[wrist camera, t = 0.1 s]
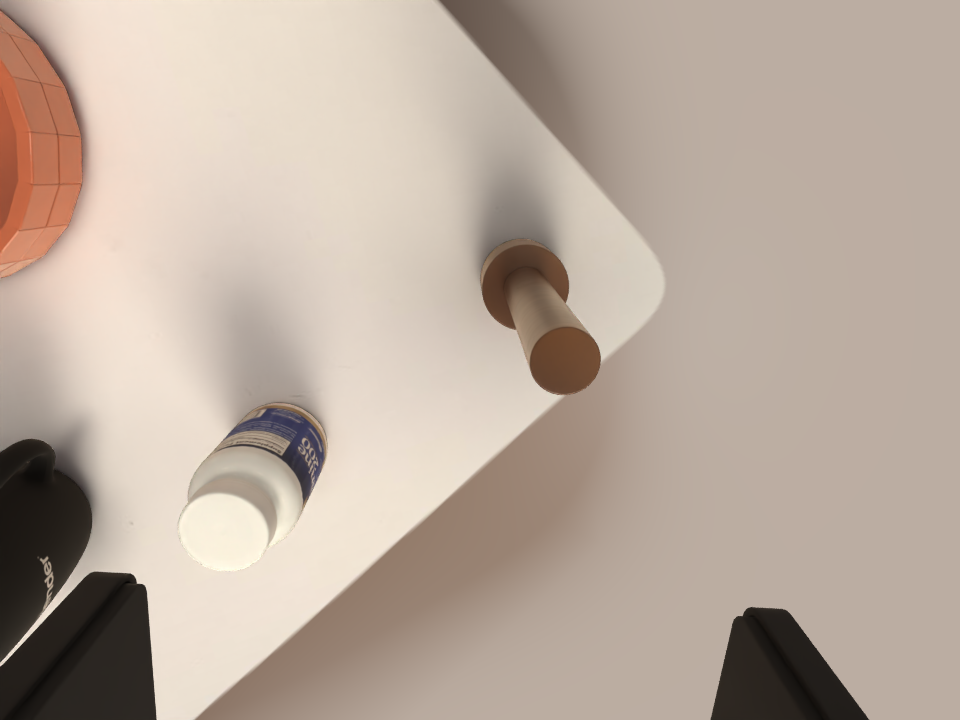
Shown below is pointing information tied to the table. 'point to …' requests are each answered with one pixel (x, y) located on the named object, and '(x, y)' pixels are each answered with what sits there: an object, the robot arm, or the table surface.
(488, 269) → the wooden pestle
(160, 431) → the table surface
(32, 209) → the bowl
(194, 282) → the table surface
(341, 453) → the table surface
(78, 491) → the mug
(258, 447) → the pill bottle
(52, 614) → the robot arm
